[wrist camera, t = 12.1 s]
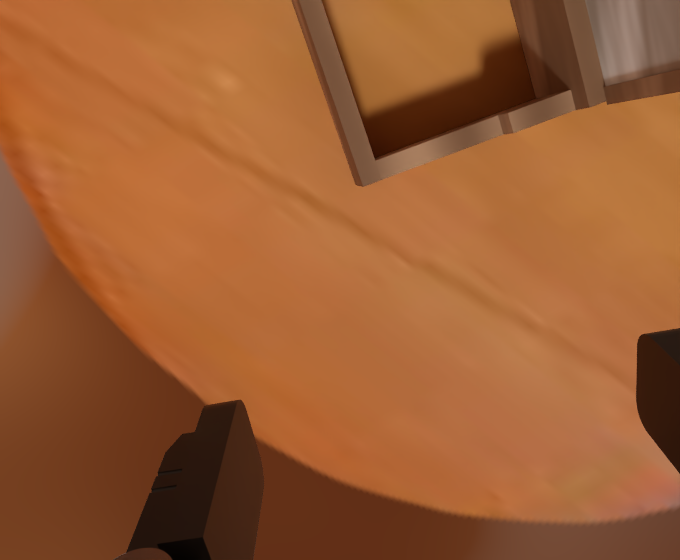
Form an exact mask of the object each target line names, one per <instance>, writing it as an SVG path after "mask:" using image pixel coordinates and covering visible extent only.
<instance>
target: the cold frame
mask: <svg viewBox="0 0 680 560" xmlns="http://www.w3.org/2000/svg"><path fill="white" fill-rule="evenodd" d="M510 2H511V6H512V10H513V14H514V17H515V21H516V25H517V29H518V32H519V36H520V40H521V44H522V47H523V51H524V55H525V59H526V62H527V66H528V70H529V74H530V77H531V81H532V85H533V89H534V92H535V96H536V99H533V100H530V101H528V102H525V103H522V104H520V105H517V106H514V107H512V108H509V109H506V110H503V111H501V112H498V113H495V114H493V115H490V116H487V117H485V118H482V119H479V120H476V121H474V122H471V123H468V124H466V125H463V126H460V127H458V128H455V129H452V130H449V131H447V132H444V133H441V134H439V135H436V136H433V137H431V138H428V139H425V140H423V141H420V142H417V143H414V144H412V145H409V146H406V147H404V148H401V149H398V150H396V151H393V152H390V153H387V154H385V155H382V156H379V157H377V158H374V155H373V152H372V149H371V146H370V143H369V140H368V137H367V134H366V131H365V128H364V125H363V122H362V119H361V117H360V114H359V111H358V108H357V105H356V102H355V99H354V96H353V93H352V90H351V87H350V84H349V81H348V78H347V75H346V72H345V69H344V66H343V63H342V60H341V57H340V54H339V51H338V48H337V45H336V42H335V39H334V36H333V33H332V30H331V27H330V24H329V21H328V18H327V15H326V12H325V9H324V7H323V4H322V1H321V0H292V3H293V6H294V9H295V11H296V14H297V17H298V20H299V23H300V26H301V29H302V32H303V35H304V37H305V40H306V43H307V46H308V49H309V52H310V55H311V58H312V60H313V63H314V66H315V69H316V72H317V75H318V78H319V81H320V83H321V86H322V89H323V92H324V95H325V98H326V101H327V104H328V106H329V109H330V112H331V115H332V118H333V121H334V124H335V127H336V129H337V132H338V135H339V138H340V141H341V144H342V147H343V150H344V153H345V155H346V158H347V161H348V164H349V167H350V170H351V173H352V176H353V178H354V181H355V184H356V185H358V186H362V187H364V186H366V185H369V184H372V183H375V182H377V181H380V180H383V179H385V178H388V177H391V176H393V175H396V174H399V173H401V172H404V171H407V170H409V169H412V168H415V167H417V166H420V165H423V164H425V163H428V162H431V161H434V160H436V159H439V158H442V157H444V156H447V155H450V154H452V153H455V152H458V151H460V150H463V149H466V148H468V147H471V146H474V145H476V144H479V143H482V142H484V141H487V140H490V139H493V138H495V137H498V136H501V135H503V134H511V133H515V132H518V131H521V130H523V129H526V128H529V127H531V126H534V125H537V124H539V123H542V122H545V121H547V120H550V119H553V118H555V117H558V116H561V115H563V114H566V113H569V112H571V111H574V110H578V109H584V108H589V107H592V106H595V105H597V104H600V103H603V102H605V101H607V105H608V104H613V103H619V102H625V101H630V100H636V99H641V98H647V97H653V96H658V95H664V94H669V93H675V92H680V0H510Z"/></svg>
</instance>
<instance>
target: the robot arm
mask: <svg viewBox="0 0 680 560" xmlns="http://www.w3.org/2000/svg"><path fill="white" fill-rule="evenodd" d="M636 402H637V409H638V413H639V416H640V419H641V422H642V424H643V426H644V428H645V429H646V431H647V432H648V434H649V435H650V436H651V438H652V439H653V440H654V441H655V443H656V444H657V445H658V447H659V448H660V449H661V450H662V452H663V453H664V454H665V455H666V457H667V458H668V459H669V461H670V462H671V463H672V464H673V466H674V467H675V468H676V469H677V471H678V472H679V473H680V328H678V329H672V330H666V331H660V332H654V333H647V334H642V335H641V336H640V337H639V339H638V343H637V386H636ZM151 489H152V493H150V494H149V496H148V499H147V501H146V504H145V506H144V509H143V511H142V514H141V517H140V519H139V521H138V524H137V527H136V529H135V532H134V534H133V537H132V539H131V542H130V544H129V547H128V550H127V552H126V553H125V554H123V555H121V556H119V557H117V558H115V559H114V560H253V557H254V550H255V543H256V536H257V530H258V522H259V516H260V509H261V503H262V496H263V489H264V476H263V467H262V462H261V457H260V454H259V451H258V447H257V444H256V441H255V437H254V434H253V431H252V427H251V424H250V421H249V417H248V414H247V411H246V408H245V405H244V403H243V402H242V401H241V400H235V401H229V402H223V403H217V404H211V405H206V406H204V408H203V410H202V413H201V416H200V419H199V421H198V425H197V427H196V430H195V432H193V433H186V434H182V435H181V436H180V437H179V438H178V439H177V440H176V442H175V443H174V444H173V445H172V446H171V447H170V448H169V449H168V450H167V452H166V453H165V455H164V458H163V461H162V463H161V466H160V468H159V471H158V476H157V477H156V478H155V481H154V483H153V486H152V488H151Z"/></svg>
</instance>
